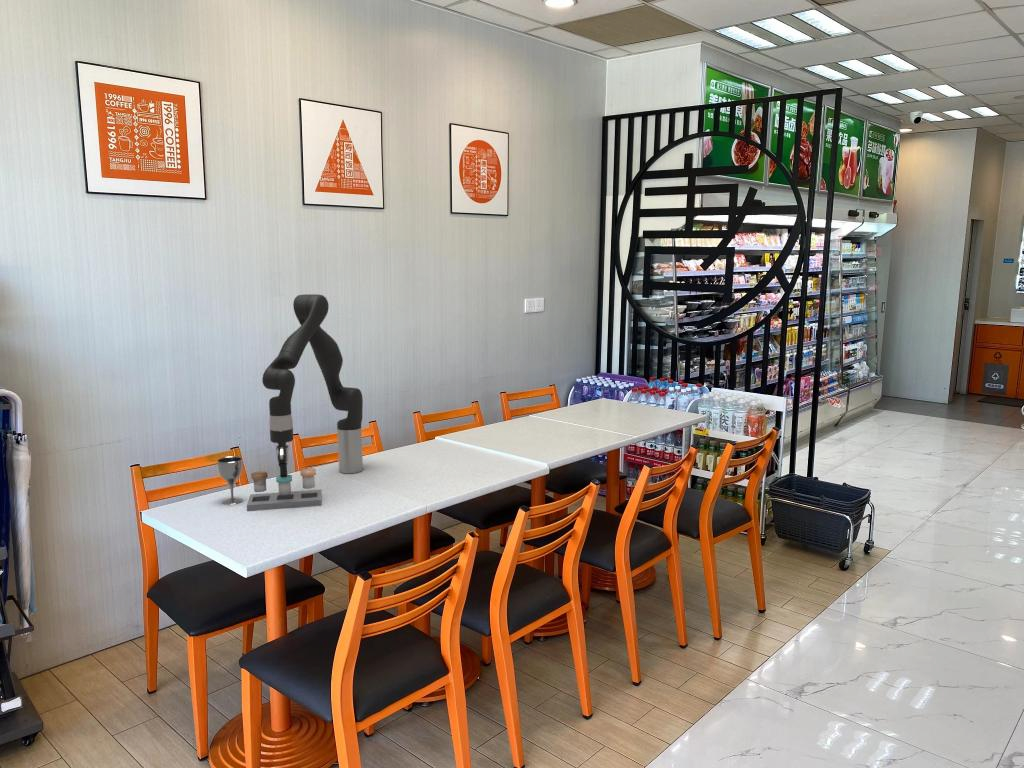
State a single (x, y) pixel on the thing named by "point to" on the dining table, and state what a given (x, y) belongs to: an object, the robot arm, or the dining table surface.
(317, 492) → the button board
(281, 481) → the teal button
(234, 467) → the wine glass
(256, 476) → the walnut button
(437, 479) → the dining table surface
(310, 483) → the terracotta button
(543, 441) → the dining table surface
